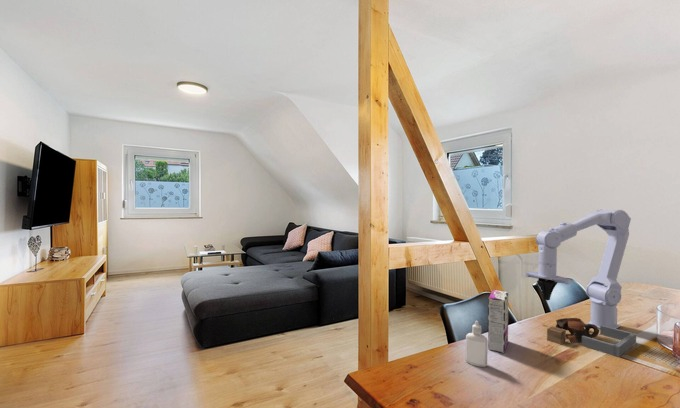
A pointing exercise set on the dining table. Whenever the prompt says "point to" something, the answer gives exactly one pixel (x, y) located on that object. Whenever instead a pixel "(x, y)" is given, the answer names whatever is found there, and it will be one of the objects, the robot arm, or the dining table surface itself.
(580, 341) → the pottery mug
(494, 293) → the candy bar box
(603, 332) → the corral
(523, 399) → the dining table surface
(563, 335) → the walnut block
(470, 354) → the eye dropper bottle
